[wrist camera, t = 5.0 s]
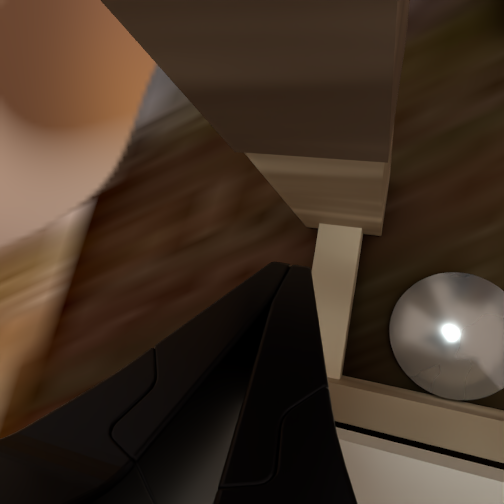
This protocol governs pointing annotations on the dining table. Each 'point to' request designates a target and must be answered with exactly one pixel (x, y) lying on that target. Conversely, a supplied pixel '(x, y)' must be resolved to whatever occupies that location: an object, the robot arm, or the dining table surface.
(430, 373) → the grey metal disc
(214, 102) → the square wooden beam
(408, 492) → the cream rectangular box
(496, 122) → the dining table surface
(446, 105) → the dining table surface
